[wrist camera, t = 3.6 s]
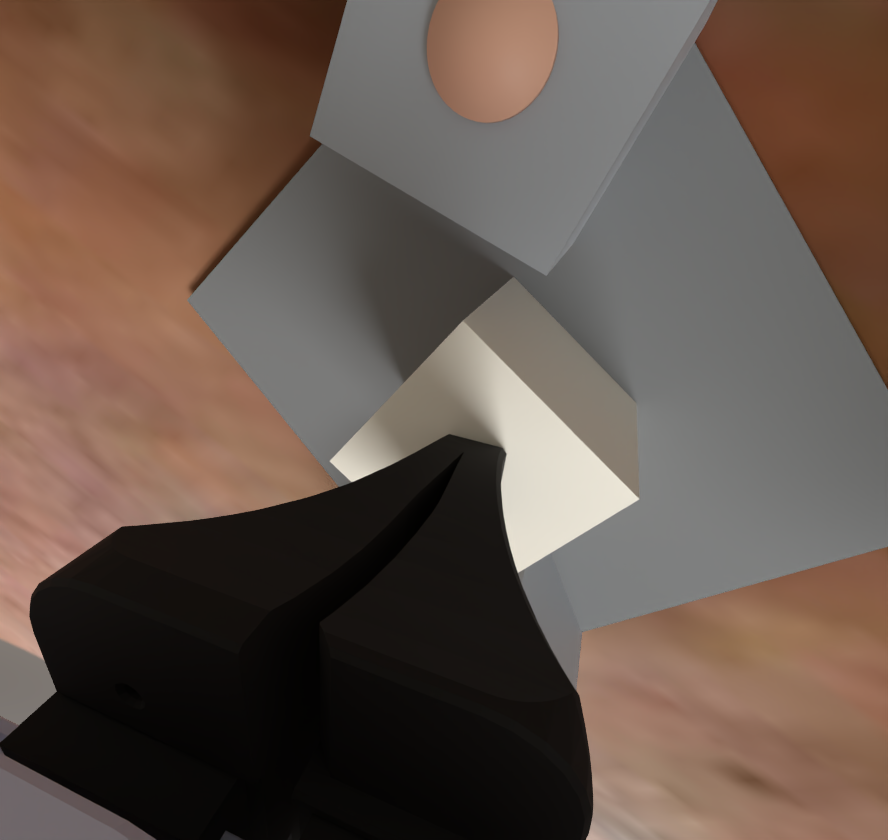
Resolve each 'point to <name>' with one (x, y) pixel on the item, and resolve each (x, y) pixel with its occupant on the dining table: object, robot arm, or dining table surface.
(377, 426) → the plain block
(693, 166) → the felt mat
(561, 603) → the dot block
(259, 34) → the dining table surface
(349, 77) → the dot block
